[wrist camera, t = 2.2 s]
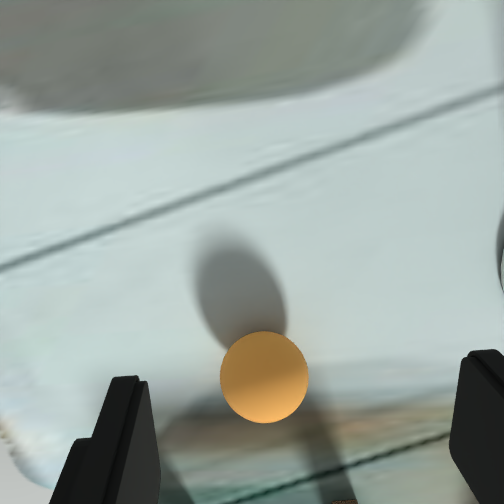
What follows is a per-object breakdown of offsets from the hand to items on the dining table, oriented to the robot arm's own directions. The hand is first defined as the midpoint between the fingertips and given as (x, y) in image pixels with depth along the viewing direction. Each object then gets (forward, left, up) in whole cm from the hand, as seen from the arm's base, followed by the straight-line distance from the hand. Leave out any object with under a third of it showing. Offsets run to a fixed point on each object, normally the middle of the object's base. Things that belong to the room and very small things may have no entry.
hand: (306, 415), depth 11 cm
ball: (+10, 0, -15) cm, 18 cm away
